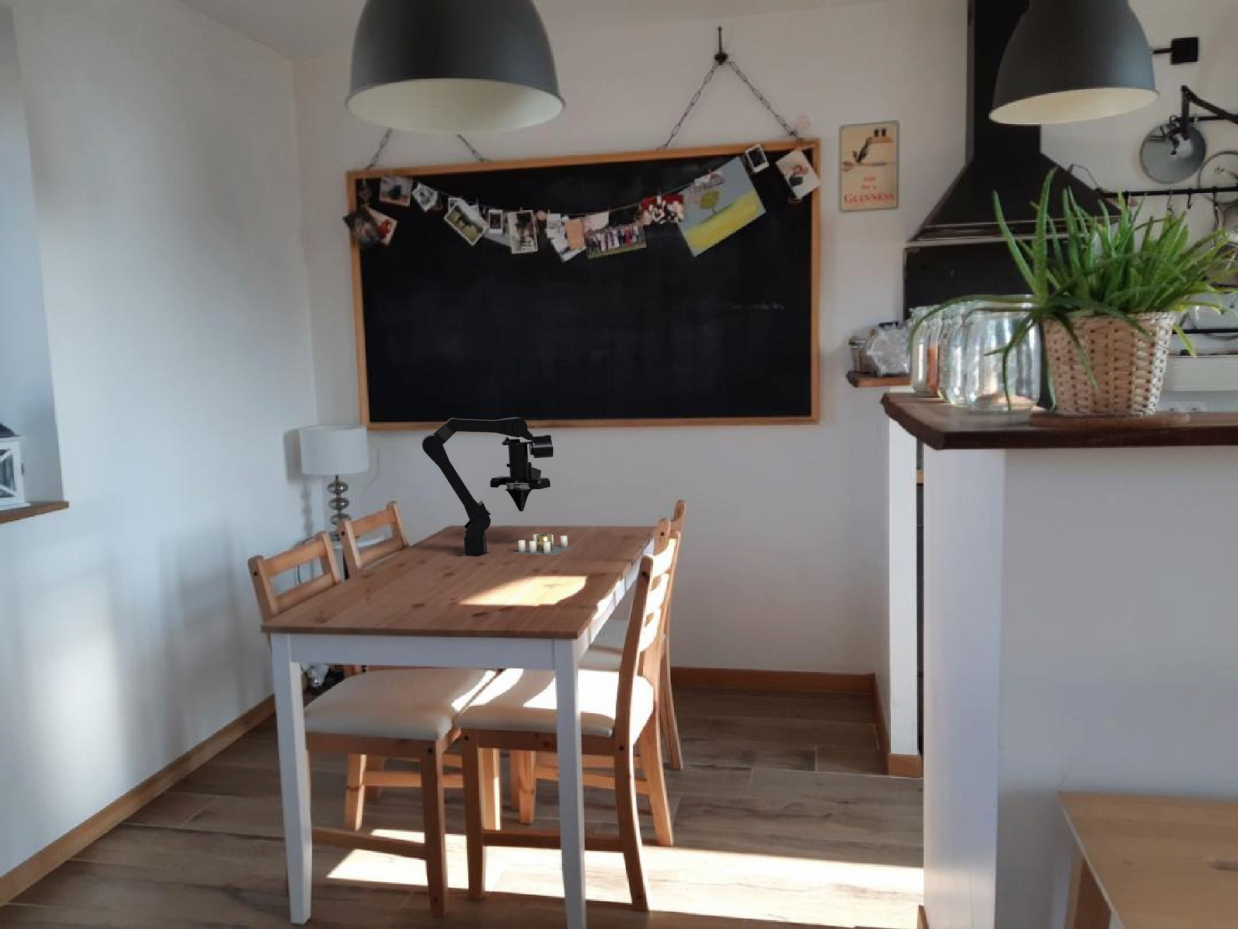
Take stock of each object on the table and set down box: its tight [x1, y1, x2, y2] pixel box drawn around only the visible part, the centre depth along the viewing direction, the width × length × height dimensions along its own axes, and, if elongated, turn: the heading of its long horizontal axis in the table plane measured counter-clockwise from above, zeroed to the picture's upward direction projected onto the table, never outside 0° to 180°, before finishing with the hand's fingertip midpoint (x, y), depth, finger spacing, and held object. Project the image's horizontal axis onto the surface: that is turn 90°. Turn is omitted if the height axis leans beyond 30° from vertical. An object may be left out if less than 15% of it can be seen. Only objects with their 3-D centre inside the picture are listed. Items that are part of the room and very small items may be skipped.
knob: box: [536, 533, 553, 552], centre depth 281 cm, size 5×5×5 cm
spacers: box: [517, 533, 569, 556], centre depth 282 cm, size 11×12×4 cm
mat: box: [514, 545, 576, 557], centre depth 282 cm, size 12×14×1 cm
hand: (521, 511), depth 284 cm, fingers closed
